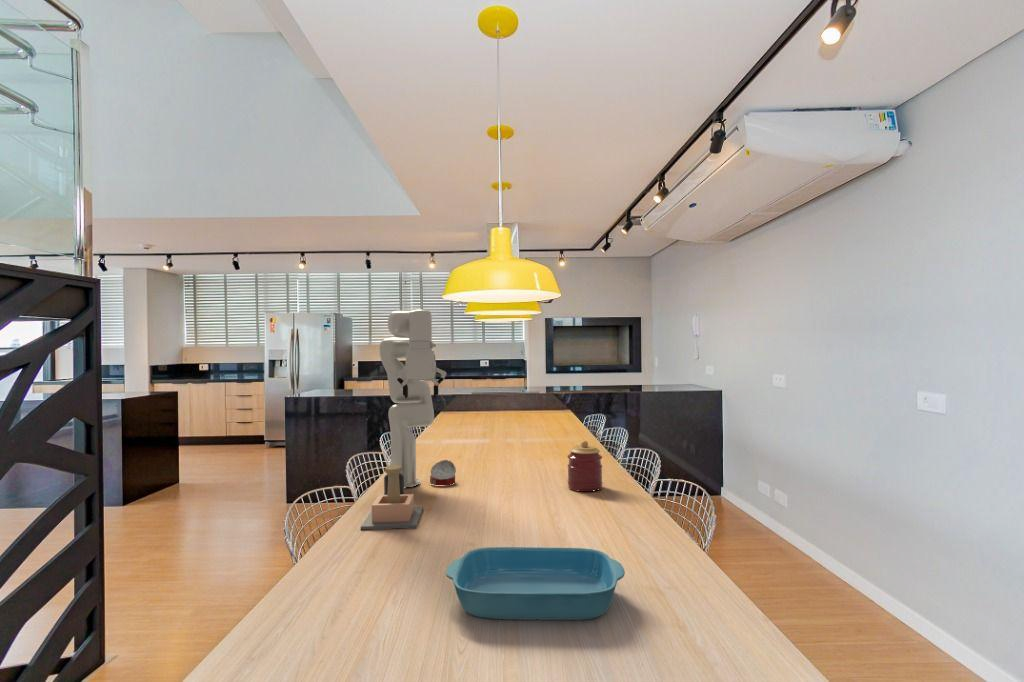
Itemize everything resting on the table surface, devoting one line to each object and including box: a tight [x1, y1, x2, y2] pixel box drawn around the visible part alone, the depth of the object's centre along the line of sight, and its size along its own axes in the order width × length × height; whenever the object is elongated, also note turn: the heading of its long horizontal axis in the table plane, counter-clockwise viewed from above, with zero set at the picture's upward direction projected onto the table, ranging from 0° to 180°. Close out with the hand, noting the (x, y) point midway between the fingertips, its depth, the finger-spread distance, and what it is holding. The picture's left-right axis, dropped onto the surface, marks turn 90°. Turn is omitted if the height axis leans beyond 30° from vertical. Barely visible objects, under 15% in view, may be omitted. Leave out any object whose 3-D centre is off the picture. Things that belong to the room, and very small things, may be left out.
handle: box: [384, 464, 402, 504], centre depth 159 cm, size 5×6×15 cm
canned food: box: [429, 459, 457, 485], centre depth 202 cm, size 11×10×10 cm
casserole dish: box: [445, 546, 626, 621], centre depth 107 cm, size 37×22×7 cm, turn 86°
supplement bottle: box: [383, 473, 405, 495], centre depth 178 cm, size 7×7×12 cm
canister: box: [566, 440, 604, 492], centre depth 193 cm, size 13×13×18 cm
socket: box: [360, 493, 424, 530], centre depth 159 cm, size 18×16×6 cm
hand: (420, 397), depth 173 cm, fingers open, 9 cm apart
